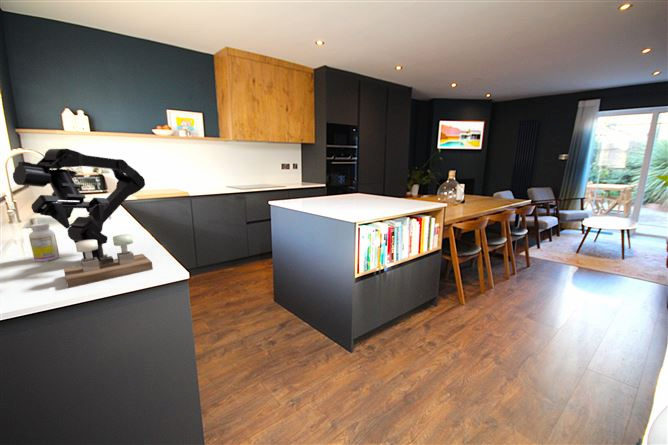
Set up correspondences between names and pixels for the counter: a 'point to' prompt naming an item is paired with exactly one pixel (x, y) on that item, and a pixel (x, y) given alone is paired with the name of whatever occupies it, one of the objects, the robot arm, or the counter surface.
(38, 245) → the supplement bottle
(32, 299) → the counter surface
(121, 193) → the robot arm
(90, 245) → the knob cream
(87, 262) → the knob mount
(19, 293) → the counter surface
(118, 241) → the knob sage
